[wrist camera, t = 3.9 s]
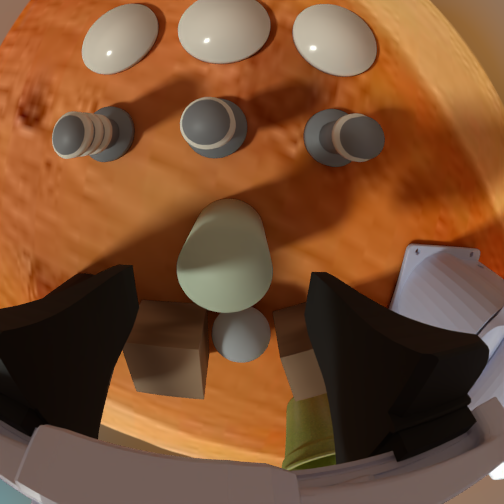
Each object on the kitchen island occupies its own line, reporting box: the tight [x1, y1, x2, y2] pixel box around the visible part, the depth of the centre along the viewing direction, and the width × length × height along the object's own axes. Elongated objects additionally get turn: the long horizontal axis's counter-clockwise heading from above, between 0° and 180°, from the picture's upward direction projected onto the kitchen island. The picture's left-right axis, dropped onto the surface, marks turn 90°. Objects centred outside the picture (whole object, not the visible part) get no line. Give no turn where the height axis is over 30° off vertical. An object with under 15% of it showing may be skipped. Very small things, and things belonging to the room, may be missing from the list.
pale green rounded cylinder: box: [177, 199, 273, 313], centre depth 15 cm, size 4×4×6 cm
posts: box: [52, 97, 385, 167], centre depth 13 cm, size 18×4×5 cm, turn 87°
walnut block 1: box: [122, 300, 209, 399], centre depth 18 cm, size 5×5×5 cm
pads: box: [82, 0, 377, 77], centre depth 12 cm, size 20×6×1 cm, turn 87°
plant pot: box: [282, 393, 336, 471], centre depth 21 cm, size 9×9×9 cm
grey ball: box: [212, 307, 270, 362], centre depth 18 cm, size 4×4×4 cm
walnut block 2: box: [273, 302, 327, 401], centre depth 18 cm, size 5×5×5 cm
